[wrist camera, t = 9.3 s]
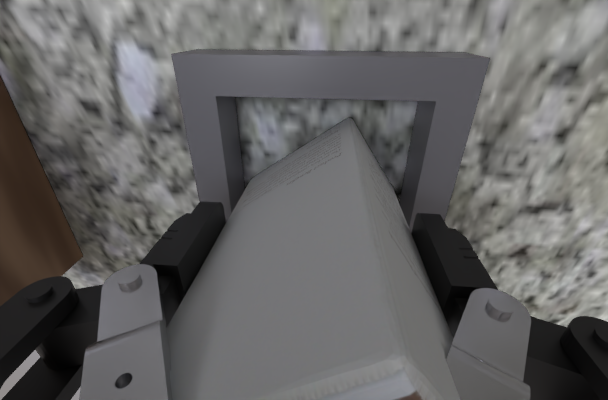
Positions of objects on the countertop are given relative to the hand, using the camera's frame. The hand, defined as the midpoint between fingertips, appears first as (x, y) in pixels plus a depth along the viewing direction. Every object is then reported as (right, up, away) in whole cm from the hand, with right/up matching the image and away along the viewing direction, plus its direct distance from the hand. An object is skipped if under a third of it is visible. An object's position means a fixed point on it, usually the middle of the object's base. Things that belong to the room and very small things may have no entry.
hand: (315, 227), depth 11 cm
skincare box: (0, +2, +4) cm, 5 cm away
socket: (+1, +3, +5) cm, 5 cm away
